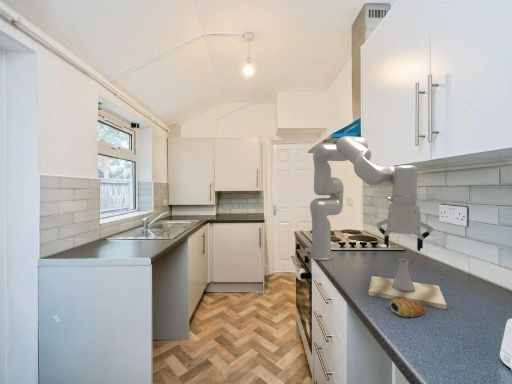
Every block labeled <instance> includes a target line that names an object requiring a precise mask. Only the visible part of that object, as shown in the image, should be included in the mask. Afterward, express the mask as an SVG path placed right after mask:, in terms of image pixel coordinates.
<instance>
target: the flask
mask: <svg viewBox="0 0 512 384" xmlns="http://www.w3.org/2000/svg"><path fill="white" fill-rule="evenodd" d="M398 262H399V264H398V270H397V273H396V274H395V275H396V276H395V277H394V282H393V287H394V288H395V289H397V290H401V291H407V292H410V291H415V288H414V285H413V282H414V281H413V280H412V277H411V274H410V272H409V268H408V266H409V260H408V259H405V258H400V259H398Z"/></svg>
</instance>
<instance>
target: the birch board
mask: <svg viewBox="0 0 512 384" xmlns="http://www.w3.org/2000/svg"><path fill="white" fill-rule="evenodd" d="M394 279H395V278H394ZM394 279H393V278H388V277H382V276H374V275H372V276H371V279H370V283H369V287H368V296H371V297H376V298H381V299H388V300H394V299H405V300H410V301H413V302H417V303H419V304H421V305H422V306H423V307H424V306H425V307H431V308H436V309H437V308H438V309H442V310H446V311H447V307H448V305H447V303H446V299H445V297H444V295H443V293H442V291H441V289H440V286H439V285H435V284H429V283H420V282H414V281H412V282H413V285H414V288H415V291H410V292H407V291H401V290H397V289H395V288H394V287H393V282H394Z"/></svg>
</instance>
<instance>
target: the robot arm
mask: <svg viewBox="0 0 512 384" xmlns="http://www.w3.org/2000/svg"><path fill="white" fill-rule="evenodd" d="M371 158H372V151H371V150H370V149H369V143H368V141H367V140H366V139H365V138H364V137H361V136H351V135H346V136H342V137H340V138H338V140H337V141H336V143H321V144H318V145H317V146H316V147H315V149H314V151H313V154H312V160H313V166H314V169H313V170H314V171H313V192H314V194H315V195H317V196H329V197H317V198H314V199H312V201H311V202H310V203H309V210H310V215H311V237H312V239H311V242H312V243H311V244H312V245H311V247H305V248H304V251H305V253H309V255H308V256H309V258H310V259H312V260H316V261H331V260H334V258H335V257H334V254H332V251H331V250H332V249H331V248H332V247H331V246H332V244H331V243H332V240H331V233H332V232H331V229H332V228H331V222H330V219H329V218H328V216H336V215H340V213H342V211H343V205H344V190H345V189H344V184H343V183H344V182H343V181H342V180H341V179H340V178H339V177H335V176H334V177H332V168H331V165H330V163H329V161H330V162H345V161H346V162H347V161H349V162H350V163H351V164H353V170H354V173H355V174H356V176H357V177H358V178H359V179H361V181H363V182H364V183H366V184H368V185H369V186H372V187H378V186H379V187H383V186H384V187H385V186H386V187H389V186H392V187H391V188H392V192H391V196H388V197H387V201H388V202H391V203H389V205H388V211H387V218H386V219H383V220H380V221H378V222H376V227H377V229H378V231H379V232H380V233H381V234H382V235H383V236H384V238H383V239H384V240H383V241H384V242H383V244H384V245H385V247H386V248H389V247H390V246H389V243H390V241H389V240H390V236H389V235H390V234H391V233H395V234H405V235H406V234H407V235H416V236H417V240H416V242H417V244H416V250H417V251H418V252H421V249H423V246H424V242H423V241H424V239H426V238H427V237H429V236H430V234H431V233H432V231H433V230H434V227H433V226H431V225H429V224H427V223H425V222H423V221H422V217H421V216H422V215H421V208H420V205H419V204H418V201H417V200H418V171H419V170H418V167H417V166H416V165H397V166H395V165H393V166H392V165H375V164H373V163H372V162H370V160H371ZM383 225H386V230H385V228H383V227H382V226H383ZM422 227H423V228H425V229H426V230H425V231H424V232H423V233H421V231H422Z"/></svg>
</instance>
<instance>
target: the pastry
mask: <svg viewBox="0 0 512 384" xmlns="http://www.w3.org/2000/svg"><path fill="white" fill-rule="evenodd" d="M390 300H391V301H389V303H388V307H389V309H390V310H391V312H393V313H395V314H396V315H397V316H399V317H403V318H409V317H410V318H415V317H416V318H417V317H420V316H423V315H424V314H425V312H426V310H425V307H424V305H421V304H419V303H417V302H413V301H410V300H405V299H394V300H392V299H390Z"/></svg>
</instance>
